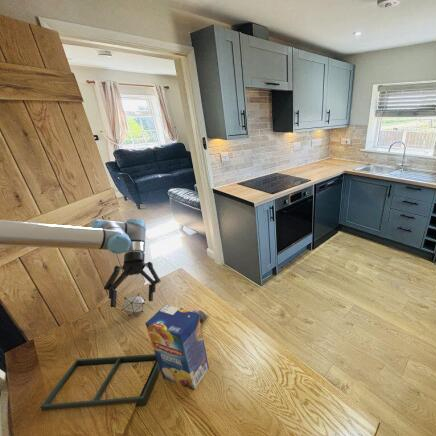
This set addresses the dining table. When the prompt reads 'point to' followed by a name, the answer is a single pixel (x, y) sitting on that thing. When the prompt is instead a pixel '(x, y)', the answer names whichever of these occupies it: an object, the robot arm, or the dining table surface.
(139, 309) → the game die
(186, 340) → the juice carton
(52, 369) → the dining table surface
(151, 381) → the grid
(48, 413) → the dining table surface
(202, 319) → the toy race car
